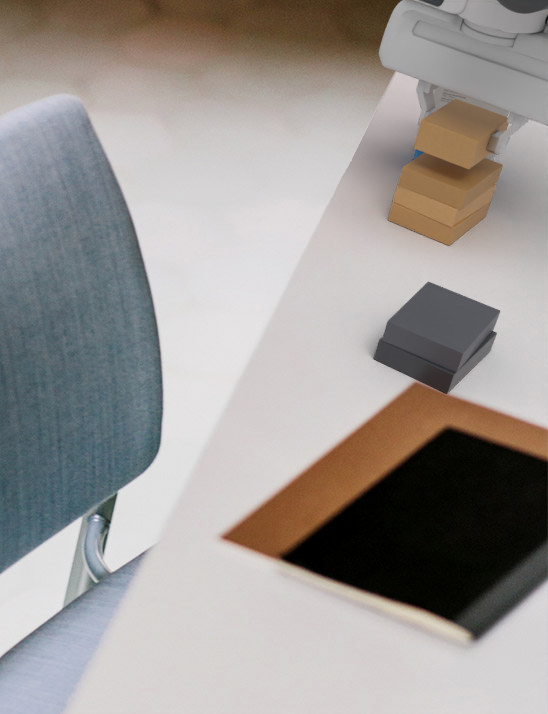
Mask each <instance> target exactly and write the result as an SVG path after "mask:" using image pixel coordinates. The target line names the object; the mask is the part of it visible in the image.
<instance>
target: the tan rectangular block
mask: <svg viewBox="0 0 548 714" xmlns="http://www.w3.org/2000/svg"><path fill="white" fill-rule="evenodd" d="M507 119H508V117H505V116H503V115H500V114H497V113H494V112H491V111H489V110H486V109H483V108H480V107H478V106H475V105H472V104H469V103H466V102H464V101H461V100H458V99H454V100H453V101H451V102H449V103H448V104H446V105H445V106H443V107H441V108H440V109H438V110H437V111H435V112H433V113H432V114H430V115H428V116H427V117H425V118H424V119H422V120H421V124H420V126H419V127H418V131H417V133H416V137H415V141H414V144H413V149H414V150H415V149H417V150H420V151H422V152H425V153H427V154H430V155H432V156H435V157H438V158H440V159H443V160H445V161H448V162H451V163H453V164H456V165H458V166H461V167H464V168H466V169H470V168H472V167H473V166H474V165H476V164H477V163H479V162H480V161H481V160H483V159H484V158H485V157H487V156H488V155H490V154H491V152H488V151H486V147H487V145H488V144H489V143H488V141H489V138H490V135H491V134H493V133H495V131H497V130H499V131H502V132H504V131H506V130H507V129H508V128H509V124H510V123H507Z"/></svg>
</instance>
